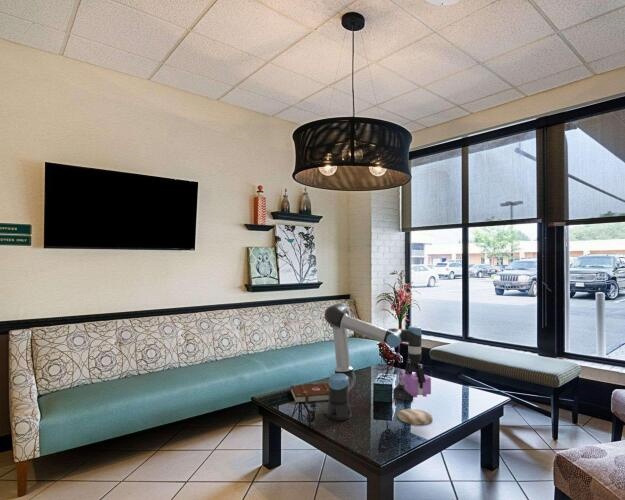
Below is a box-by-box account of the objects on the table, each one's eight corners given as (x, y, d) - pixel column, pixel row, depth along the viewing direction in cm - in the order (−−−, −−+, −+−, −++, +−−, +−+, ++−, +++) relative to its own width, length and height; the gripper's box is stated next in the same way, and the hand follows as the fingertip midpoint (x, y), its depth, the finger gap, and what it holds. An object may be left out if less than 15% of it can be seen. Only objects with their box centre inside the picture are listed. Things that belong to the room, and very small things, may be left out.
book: (342, 400, 254) (342, 392, 254) (295, 403, 247) (295, 395, 248) (333, 388, 276) (333, 381, 276) (290, 391, 270) (290, 384, 270)
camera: (412, 396, 260) (412, 381, 260) (414, 402, 250) (414, 386, 250) (392, 395, 261) (392, 380, 262) (393, 400, 252) (393, 385, 252)
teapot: (426, 390, 232) (426, 369, 233) (434, 396, 222) (434, 374, 223) (395, 392, 228) (395, 371, 229) (402, 398, 219) (402, 376, 219)
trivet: (409, 427, 213) (409, 425, 213) (391, 413, 232) (391, 411, 232) (439, 422, 219) (439, 420, 219) (419, 409, 238) (419, 407, 238)
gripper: (431, 357, 216) (432, 396, 216) (409, 347, 238) (409, 383, 238) (420, 358, 214) (420, 398, 213) (399, 348, 236) (399, 384, 235)
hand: (414, 390), depth 225 cm, fingers closed on teapot, 10 cm apart
